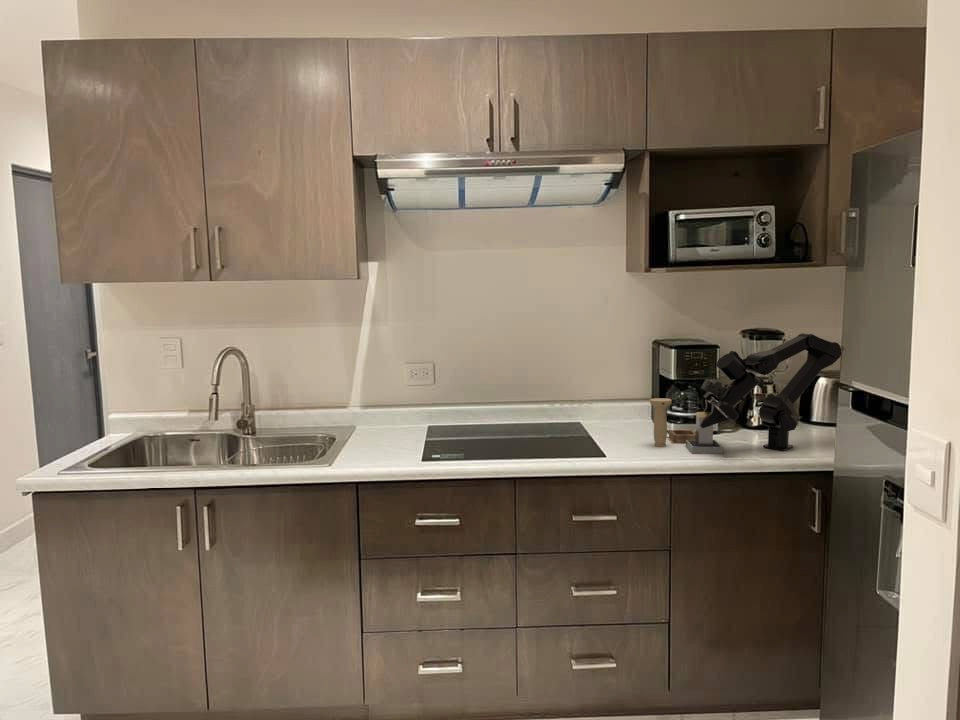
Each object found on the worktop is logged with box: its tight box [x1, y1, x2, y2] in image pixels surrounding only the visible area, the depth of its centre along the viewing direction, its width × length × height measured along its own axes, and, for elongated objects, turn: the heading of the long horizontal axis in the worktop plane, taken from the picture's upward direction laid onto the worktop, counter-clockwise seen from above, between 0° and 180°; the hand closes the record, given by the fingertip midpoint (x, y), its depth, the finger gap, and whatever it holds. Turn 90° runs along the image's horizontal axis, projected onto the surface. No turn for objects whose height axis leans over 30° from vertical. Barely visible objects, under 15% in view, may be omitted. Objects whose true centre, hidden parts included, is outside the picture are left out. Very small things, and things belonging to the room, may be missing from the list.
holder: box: [666, 429, 696, 445], centre depth 214 cm, size 9×9×3 cm
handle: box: [649, 397, 672, 448], centre depth 207 cm, size 5×6×15 cm
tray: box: [685, 439, 724, 455], centre depth 202 cm, size 9×9×2 cm
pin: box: [695, 411, 714, 447], centre depth 201 cm, size 4×4×10 cm
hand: (699, 425), depth 201 cm, fingers closed on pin, 4 cm apart
